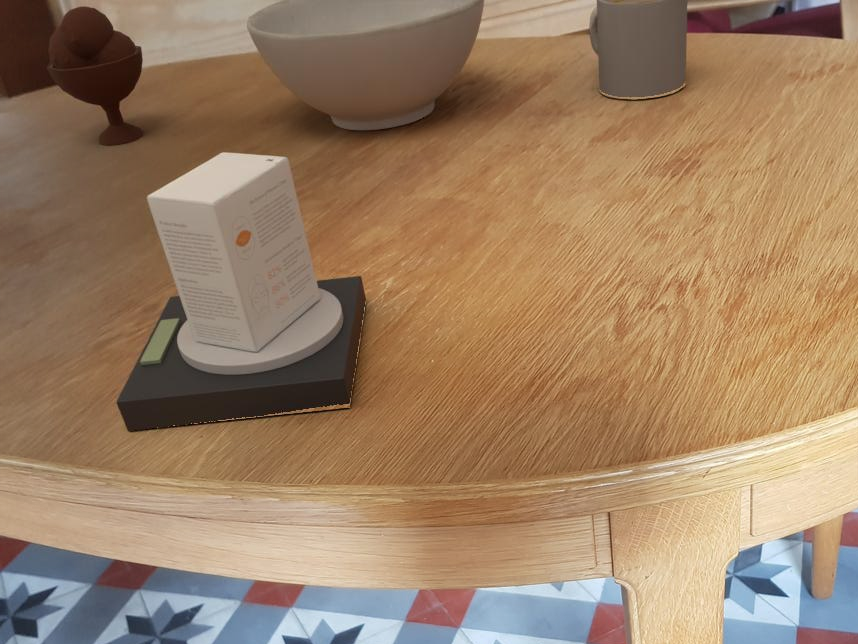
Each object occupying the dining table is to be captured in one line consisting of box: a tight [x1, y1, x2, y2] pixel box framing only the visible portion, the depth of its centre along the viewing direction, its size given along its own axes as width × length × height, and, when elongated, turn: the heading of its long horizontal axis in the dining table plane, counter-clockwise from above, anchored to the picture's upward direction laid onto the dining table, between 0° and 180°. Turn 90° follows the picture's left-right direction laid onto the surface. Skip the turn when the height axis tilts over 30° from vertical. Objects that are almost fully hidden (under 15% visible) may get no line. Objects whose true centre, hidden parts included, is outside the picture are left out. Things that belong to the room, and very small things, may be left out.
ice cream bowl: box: [46, 5, 145, 146], centre depth 113 cm, size 11×11×15 cm
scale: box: [115, 275, 367, 432], centre depth 67 cm, size 15×15×3 cm
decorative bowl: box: [246, 0, 485, 131], centre depth 110 cm, size 27×27×12 cm
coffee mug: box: [588, 0, 688, 98], centre depth 109 cm, size 13×10×10 cm
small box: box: [146, 151, 320, 352], centre depth 63 cm, size 8×6×10 cm
